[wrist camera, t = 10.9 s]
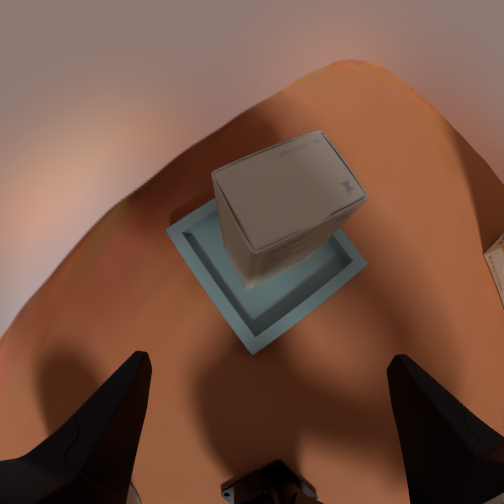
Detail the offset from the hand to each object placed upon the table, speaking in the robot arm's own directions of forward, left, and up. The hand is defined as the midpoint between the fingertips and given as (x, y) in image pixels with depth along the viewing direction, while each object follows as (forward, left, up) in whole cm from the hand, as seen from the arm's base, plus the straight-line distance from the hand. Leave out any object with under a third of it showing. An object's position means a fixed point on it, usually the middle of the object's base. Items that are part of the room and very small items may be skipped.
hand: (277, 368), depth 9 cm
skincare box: (+6, -5, -13) cm, 15 cm away
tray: (+6, -5, -14) cm, 16 cm away
